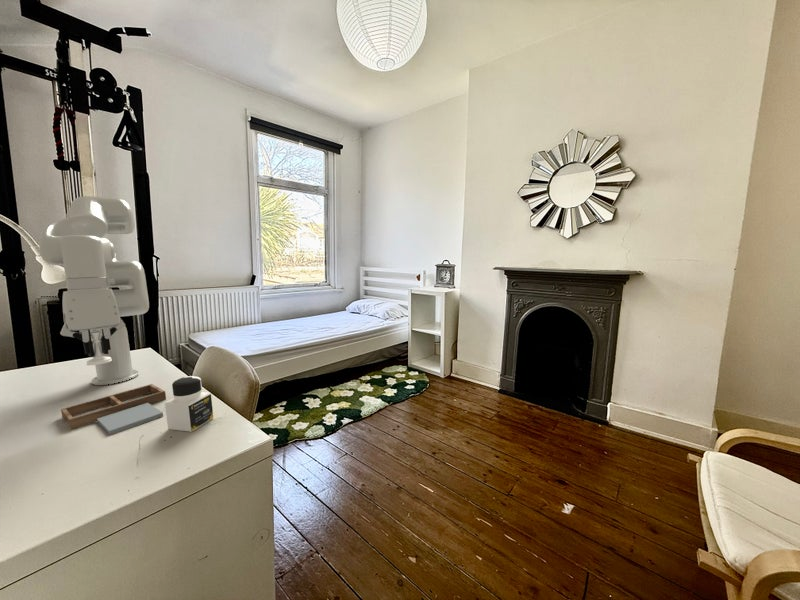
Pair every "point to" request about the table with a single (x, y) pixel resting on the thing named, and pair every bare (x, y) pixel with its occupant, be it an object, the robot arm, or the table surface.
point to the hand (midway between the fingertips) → (98, 354)
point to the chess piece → (97, 350)
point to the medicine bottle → (188, 405)
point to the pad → (129, 418)
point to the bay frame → (110, 400)
